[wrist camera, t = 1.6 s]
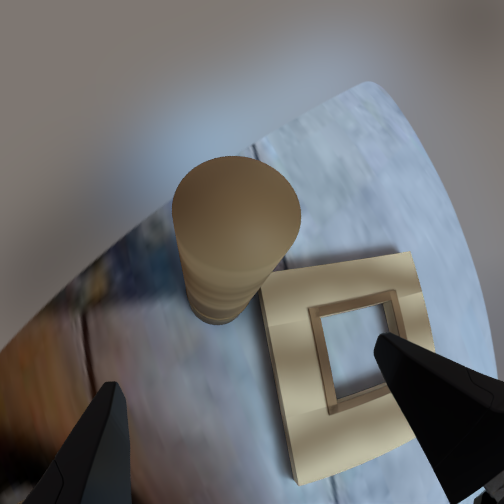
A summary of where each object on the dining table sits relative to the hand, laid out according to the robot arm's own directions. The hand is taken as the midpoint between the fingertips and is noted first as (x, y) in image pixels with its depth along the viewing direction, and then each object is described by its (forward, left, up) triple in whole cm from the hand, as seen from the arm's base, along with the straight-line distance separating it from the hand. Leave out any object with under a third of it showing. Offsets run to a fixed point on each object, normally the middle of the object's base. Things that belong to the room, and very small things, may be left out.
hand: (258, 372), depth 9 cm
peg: (+5, 0, -11) cm, 13 cm away
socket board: (-2, -10, -11) cm, 15 cm away
